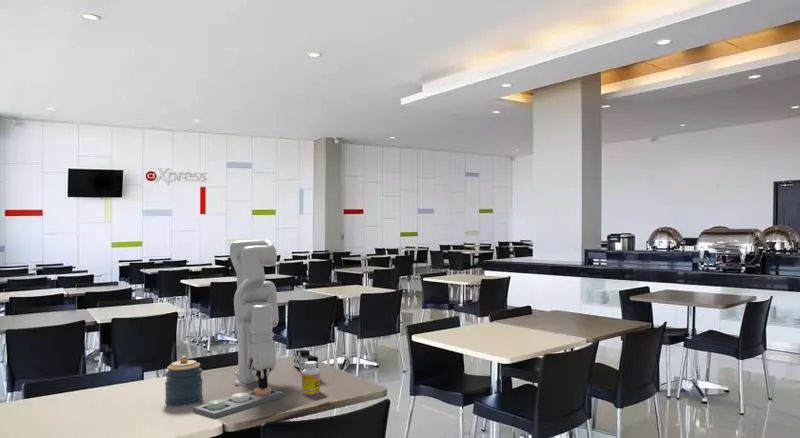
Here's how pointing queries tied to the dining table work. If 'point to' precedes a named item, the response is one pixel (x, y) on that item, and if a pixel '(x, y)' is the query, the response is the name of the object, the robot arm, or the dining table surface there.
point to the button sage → (216, 405)
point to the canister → (183, 383)
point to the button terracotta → (262, 391)
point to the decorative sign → (303, 359)
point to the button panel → (238, 404)
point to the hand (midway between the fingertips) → (263, 387)
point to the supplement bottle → (310, 379)
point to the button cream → (240, 397)
